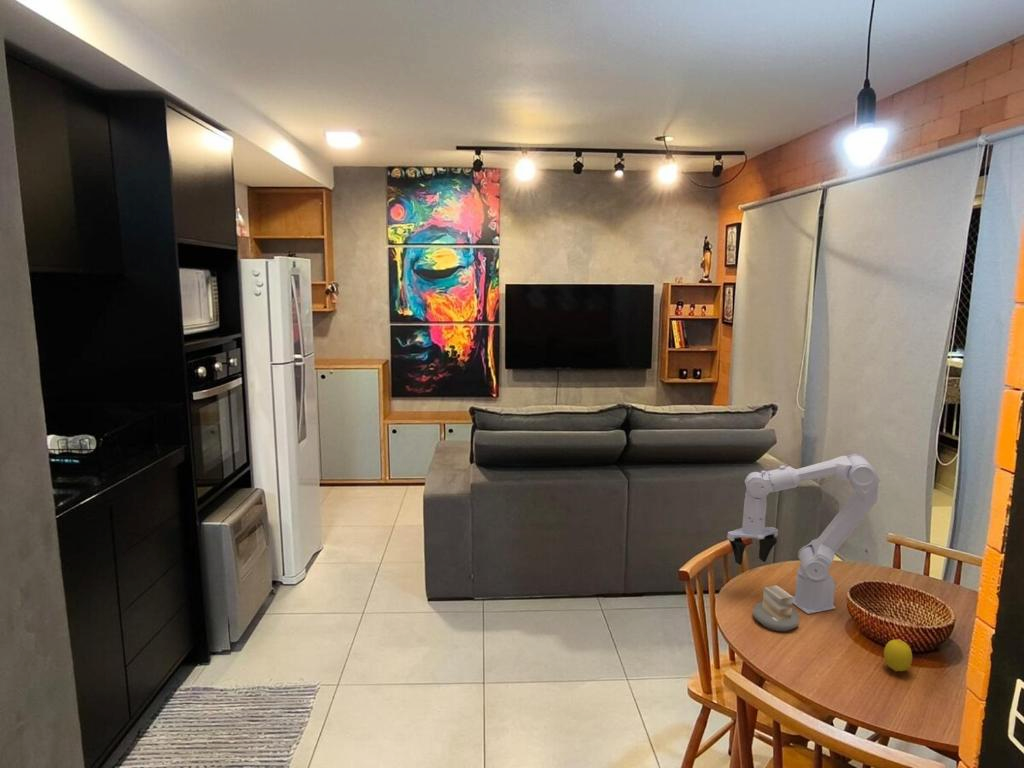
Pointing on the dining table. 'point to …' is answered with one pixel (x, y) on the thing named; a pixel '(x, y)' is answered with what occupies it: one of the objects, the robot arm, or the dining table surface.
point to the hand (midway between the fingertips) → (750, 561)
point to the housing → (777, 602)
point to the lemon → (898, 655)
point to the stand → (772, 622)
